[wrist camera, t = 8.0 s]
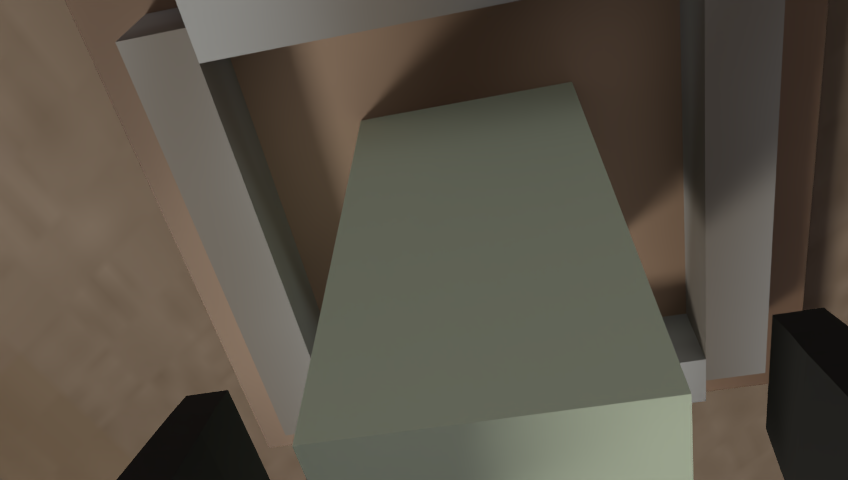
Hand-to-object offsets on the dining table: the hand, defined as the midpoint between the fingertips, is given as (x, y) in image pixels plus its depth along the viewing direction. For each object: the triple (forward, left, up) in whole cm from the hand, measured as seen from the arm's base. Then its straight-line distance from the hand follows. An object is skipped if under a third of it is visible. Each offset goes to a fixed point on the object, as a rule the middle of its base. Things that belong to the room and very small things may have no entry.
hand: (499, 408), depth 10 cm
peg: (0, 0, -6) cm, 6 cm away
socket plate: (0, 0, -7) cm, 7 cm away
